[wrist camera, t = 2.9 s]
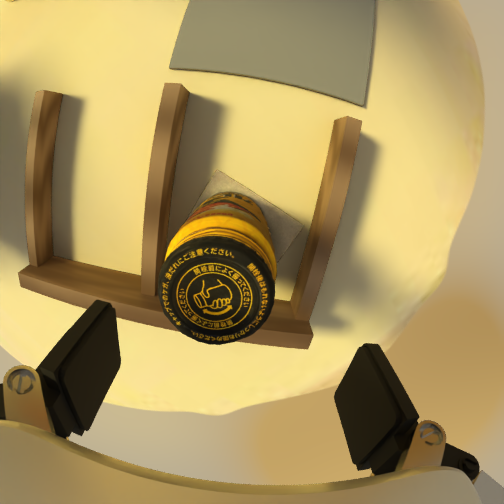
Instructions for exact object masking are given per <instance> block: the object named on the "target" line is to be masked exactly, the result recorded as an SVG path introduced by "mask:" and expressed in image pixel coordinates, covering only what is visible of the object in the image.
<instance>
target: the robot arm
mask: <svg viewBox="0 0 504 504" xmlns="http://www.w3.org/2000/svg"><path fill="white" fill-rule="evenodd" d="M6 1H13V0H6ZM120 365H121V357H120V349H119V341H118V331H117V320H116V310H115V308H113V307H112V304H111V303H109V302H105V301H102V300H95V301H94V302H93V304H92V305H91V306H90V307H89V308H88V309H87V310H86V311H85V312H84V313H83V315H82V316H81V317H80V318H79V319H78V320H77V321H76V322H75V324H74V325H73V326H72V327H71V328H70V329H69V330H68V331H67V332H66V333H65V334H64V336H63V337H62V338H61V339H60V340H59V341H58V343H57V344H56V345H55V346H54V347H53V349H52V350H51V351H50V352H49V354H48V355H47V356H46V357H45V359H44V360H43V361H42V362H41V364H40V365H39V366H38V367H37V369H36V370H35V369H33V368H31V367H29V366H26V365H19V366H15V367H13V368H11V369H10V370H9V371H8V372H7V373H6V374H5V376H4V380H3V383H2V384H0V504H504V488H503V487H502V486H501V485H500V484H498V483H497V482H496V481H495V480H494V479H492V478H491V477H490V476H489V475H487V474H486V473H485V472H484V471H483V470H481V471H480V472H479V463H478V461H477V459H476V458H475V457H474V456H473V455H471V454H469V453H467V452H464V451H462V450H460V449H458V448H456V447H454V446H452V445H450V444H448V443H446V434H445V431H444V429H443V428H442V427H441V426H440V425H439V424H438V423H436V422H434V421H431V420H425V421H421V422H420V423H419V424H418V422H417V420H418V418H419V415H418V413H417V411H416V409H415V407H414V406H413V404H412V402H411V400H410V398H409V396H408V394H407V393H406V391H405V389H404V387H403V385H402V384H401V382H400V380H399V378H398V376H397V375H396V373H395V372H394V370H393V368H392V366H391V365H390V363H389V361H388V359H387V358H386V356H385V354H384V352H383V351H382V349H381V347H380V346H379V345H378V344H370V343H365V344H363V345H362V347H359V348H358V350H357V352H356V354H355V356H354V358H353V360H352V362H351V364H350V366H349V368H348V370H347V371H346V373H345V375H344V377H343V379H342V381H341V383H340V384H339V386H338V388H337V390H336V392H335V395H334V399H335V403H336V407H337V410H338V413H339V417H340V420H341V424H342V427H343V430H344V434H345V437H346V441H347V444H348V448H349V452H350V455H351V459H352V462H353V463H354V464H356V466H357V469H358V471H359V470H365V469H369V468H371V470H372V473H371V475H370V477H365V478H359V479H353V480H346V481H338V482H330V483H319V484H304V485H251V484H236V483H235V484H234V483H224V482H216V481H209V480H202V479H195V478H189V477H184V476H178V475H174V474H169V473H165V472H160V471H156V470H152V469H148V468H144V467H141V466H137V465H134V464H131V463H128V462H124V461H121V460H118V459H115V458H112V457H109V456H107V455H104V454H101V453H98V452H95V451H93V450H90V449H87V448H85V447H83V446H80V445H78V444H76V443H73V442H71V441H69V438H68V437H69V436H70V434H71V432H73V433H75V434H78V435H80V436H82V435H83V433H84V431H85V430H86V431H88V430H89V429H90V427H91V425H92V423H93V421H94V418H95V416H96V414H97V412H98V410H99V408H100V406H101V404H102V402H103V400H104V398H105V396H106V394H107V392H108V390H109V388H110V386H111V384H112V382H113V380H114V378H115V376H116V374H117V372H118V370H119V368H120Z"/></svg>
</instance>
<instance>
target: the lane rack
mask: <svg viewBox="0 0 504 504" xmlns="http://www.w3.org/2000/svg"><path fill="white" fill-rule="evenodd" d="M62 96H63V94H61V93H56V92H51V91H46V90H43V91H37V92H36V94H35V99H34V104H33V109H32V115H31V121H30V128H29V136H28V145H27V156H26V172H25V218H26V234H27V245H28V255H29V262H30V265H28V266H27V267H26V268H24V269H23V270H21V271H20V272H18V275H19V280H20V286H21V287H23V288H26V289H28V290H31V291H34V292H36V293H39V294H42V295H45V296H48V297H51V298H54V299H57V300H60V301H63V302H66V303H69V304H72V305H75V306H79V307H82V308H85V309H88V308H89V307H90V306H91V305H92V304H93V302H94V301H95V300H102V301H105V302H109V303H111V304H112V307H113V308H115V310H116V317H118V318H122V319H126V320H130V321H134V322H138V323H142V324H146V325H151V326H155V327H160V328H165V329H169V330H174V331H179V330H178V329H177V328H176V327H175V326H174V325H173V324H172V323H171V322H170V321H169V319H168V318H167V317H166V316H165V315H164V313H163V309H162V306H161V304H160V300H159V296H158V279H159V273H160V271H161V266H162V265H163V264H164V262H165V256H166V244H167V233H168V222H169V213H170V204H171V196H172V188H173V181H174V174H175V167H176V161H177V154H178V148H179V143H180V137H181V131H182V126H183V121H184V116H185V111H186V106H187V101H188V97H189V91H188V90H187V89H186V88H185V87H184V86H183V85H182V84H178V83H165V85H164V89H163V93H162V98H161V103H160V107H159V112H158V117H157V123H156V128H155V134H154V140H153V146H152V153H151V159H150V167H149V174H148V183H147V192H146V202H145V213H144V226H143V242H142V268H141V276H139V275H135V274H130V273H125V272H121V271H116V270H111V269H107V268H102V267H98V266H94V265H89V264H85V263H81V262H77V261H73V260H68V259H64V258H60V257H56V256H54V255H53V242H52V221H51V190H52V169H53V156H54V146H55V138H56V130H57V124H58V117H59V112H60V106H61V101H62ZM361 125H362V121H361V120H358V119H355V118H352V117H349V116H346V117H343V118H340V119H336V120H335V121H334V126H333V131H332V136H331V141H330V146H329V150H328V155H327V160H326V164H325V169H324V173H323V178H322V182H321V187H320V191H319V195H318V199H317V204H316V208H315V212H314V216H313V220H312V224H311V228H310V232H309V236H308V240H307V243H306V247H305V251H304V255H303V258H302V262H301V266H300V269H299V273H298V277H297V280H296V284H295V287H294V291H293V294H292V298H291V301H283V300H276V299H274V305H273V308H272V311H271V314H270V316H269V317H268V319H267V321H266V322H265V323H264V324H263V325H262V326H261V328H260V329H258V330H257V331H256V332H255V333H254V334H253V335H251V336H249V337H246V338H243V339H241V340H238V342H245V343H252V344H260V345H268V346H277V347H287V348H297V349H308V348H309V346H310V343H311V341H312V338H313V332H312V329H311V326H310V323H309V319H310V316H311V313H312V310H313V307H314V304H315V301H316V298H317V295H318V292H319V289H320V286H321V283H322V280H323V277H324V274H325V270H326V267H327V264H328V261H329V257H330V254H331V250H332V247H333V244H334V240H335V236H336V233H337V229H338V226H339V222H340V218H341V214H342V210H343V207H344V203H345V199H346V195H347V191H348V186H349V182H350V178H351V173H352V169H353V165H354V160H355V155H356V151H357V146H358V141H359V136H360V130H361ZM179 332H180V331H179Z"/></svg>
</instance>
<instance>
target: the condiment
mask: <svg viewBox="0 0 504 504" xmlns="http://www.w3.org/2000/svg"><path fill="white" fill-rule="evenodd" d="M303 227H304V225H302V224H301V223H299V222H298V221H296V220H295V219H293V218H292V217H291V216H289V215H287V214H286V213H284V212H283V211H281V210H280V209H278V208H277V207H275V206H274V205H272V204H271V203H269V202H268V201H266V200H265V199H263V198H262V197H260V196H259V195H257V194H256V193H254V192H252V191H251V190H249V189H248V188H246V187H245V186H243V185H241V184H240V183H238V182H237V181H235V180H233V179H232V178H230V177H228V176H227V175H225V174H224V173H222V172H220V171H218V170H216V172H215V173H214V175H213V176H212V178H211V180H210V181H209V183H208V185H207V186H206V188H205V190H204V191H203V193H202V194H201V196H200V198H199V199H198V201H197V203H196V204H195V206H194V208H193V210H192V211H191V213H190V215H189V216H188V218H187V220H186V222H185V223H184V225H182V226H181V228H180V229H179V231H178V232H177V233H176V235H175V236H174V238H173V239H172V240H171V241H170V244H169V246H168V249H167V252H166V256H165V262H164V264H163V265H162V266H161V271H160V273H159V279H158V296H159V300H160V304H161V306H162V309H163V313H164V315H165V316H166V317H167V318H168V319H169V321H170V322H171V323H172V324H173V325H174V326H175V327H176V328H177V329H178V330H179V331H180V332H181V333H182V334H184V335H186V336H188V337H190V338H192V339H194V340H196V341H198V342H203V343H207V344H216V345H221V344H226V343H231V342H235V341H238V340H241V339H243V338H246V337H249V336H251V335H253V334H254V333H255V332H256V331H257V330H258V329H260V328H261V326H262V325H263V324H264V323H265V322H266V321H267V319H268V317H269V316H270V314H271V311H272V308H273V305H274V297H275V280H276V276H277V262H278V261H279V260H280V258H281V257H282V255H283V253H285V251H286V250H287V249H288V247H289V246H290V245H291V243H292V242H293V240H294V239H295V237H296V236H297V235H298V234H299V232H300V231H301V230H302V228H303ZM270 233H271V235H270Z"/></svg>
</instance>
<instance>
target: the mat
mask: <svg viewBox="0 0 504 504" xmlns="http://www.w3.org/2000/svg"><path fill="white" fill-rule="evenodd" d="M374 11H375V0H190V1H189V4H188V7H187V9H186V12H185V15H184V18H183V21H182V24H181V27H180V30H179V34H178V37H177V40H176V43H175V47H174V50H173V54H172V58H171V61H170V65H169V68H170V69H184V70H198V71H209V72H218V73H227V74H234V75H241V76H247V77H253V78H259V79H264V80H269V81H274V82H279V83H284V84H288V85H292V86H297V87H301V88H304V89H308V90H312V91H316V92H319V93H323V94H326V95H329V96H333V97H336V98H339V99H342V100H345V101H348V102H351V103H354V104H357V105H360V106H363V105H364V98H365V92H366V85H367V78H368V71H369V63H370V55H371V46H372V36H373V25H374Z"/></svg>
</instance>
